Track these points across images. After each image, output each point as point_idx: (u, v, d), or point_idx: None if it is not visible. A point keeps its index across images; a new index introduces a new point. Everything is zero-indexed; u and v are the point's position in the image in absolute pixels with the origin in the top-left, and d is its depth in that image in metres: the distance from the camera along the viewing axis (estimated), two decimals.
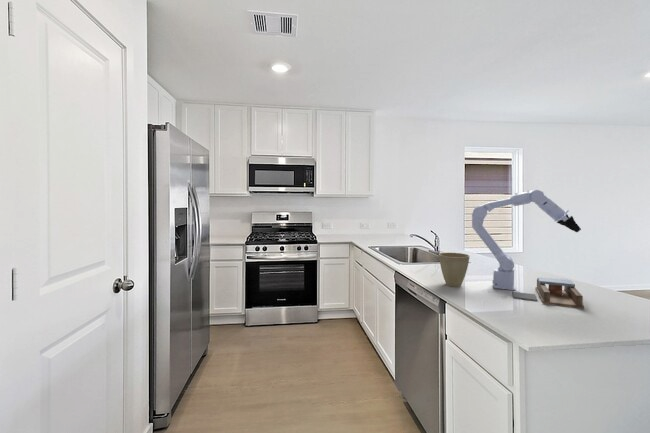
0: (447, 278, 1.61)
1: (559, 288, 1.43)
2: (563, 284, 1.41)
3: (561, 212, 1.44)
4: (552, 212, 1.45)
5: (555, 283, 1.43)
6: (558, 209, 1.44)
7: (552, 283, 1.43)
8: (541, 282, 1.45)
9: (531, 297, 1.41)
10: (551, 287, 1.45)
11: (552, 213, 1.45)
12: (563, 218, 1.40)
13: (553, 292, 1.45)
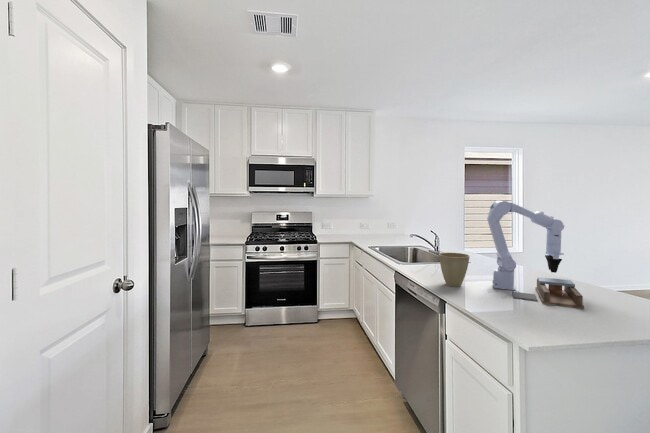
0: (447, 278, 1.61)
1: (559, 288, 1.43)
2: (563, 284, 1.41)
3: (557, 251, 1.49)
4: (551, 246, 1.50)
5: (555, 283, 1.43)
6: (558, 247, 1.49)
7: (552, 283, 1.43)
8: (541, 282, 1.45)
9: (531, 297, 1.41)
10: (551, 287, 1.45)
11: (551, 246, 1.50)
12: (555, 256, 1.46)
13: (553, 292, 1.45)
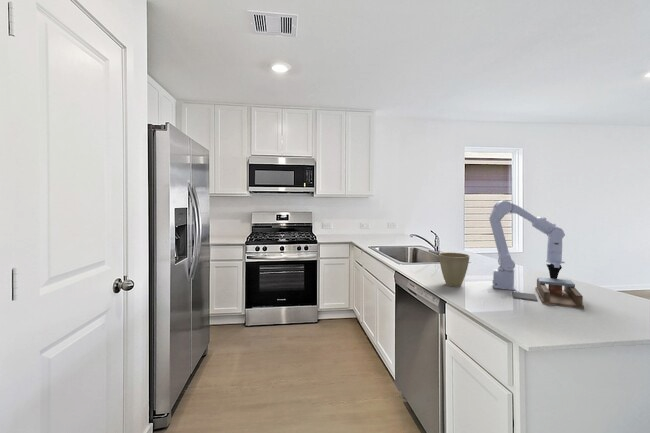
0: (447, 278, 1.61)
1: (559, 288, 1.43)
2: (563, 284, 1.41)
3: (558, 259, 1.47)
4: (552, 254, 1.47)
5: (555, 283, 1.43)
6: (559, 256, 1.47)
7: (552, 283, 1.43)
8: (541, 282, 1.45)
9: (531, 297, 1.41)
10: (551, 287, 1.45)
11: (551, 255, 1.48)
12: (556, 264, 1.43)
13: (553, 292, 1.45)
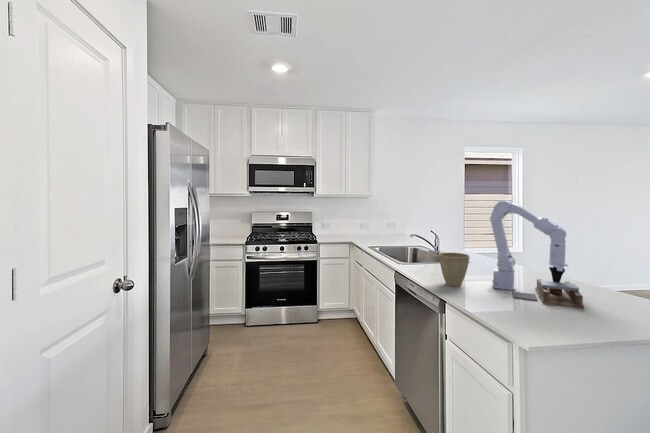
0: (447, 278, 1.61)
1: None
2: (566, 288, 1.35)
3: (561, 262, 1.41)
4: (555, 256, 1.41)
5: (558, 287, 1.36)
6: (562, 258, 1.40)
7: (555, 287, 1.37)
8: (543, 286, 1.39)
9: (531, 297, 1.41)
10: None
11: (554, 257, 1.42)
12: (559, 268, 1.37)
13: (553, 292, 1.45)
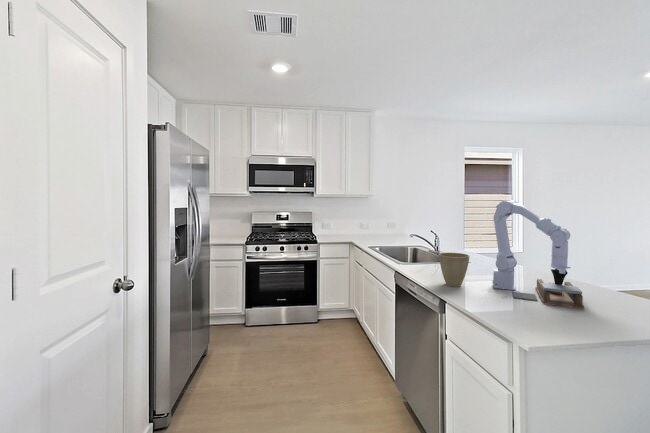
0: (447, 278, 1.61)
1: None
2: (569, 291, 1.31)
3: (564, 264, 1.36)
4: (557, 258, 1.37)
5: (560, 290, 1.32)
6: (564, 260, 1.36)
7: (557, 290, 1.33)
8: (545, 289, 1.35)
9: (531, 297, 1.41)
10: None
11: (556, 259, 1.37)
12: (561, 270, 1.33)
13: (553, 292, 1.45)
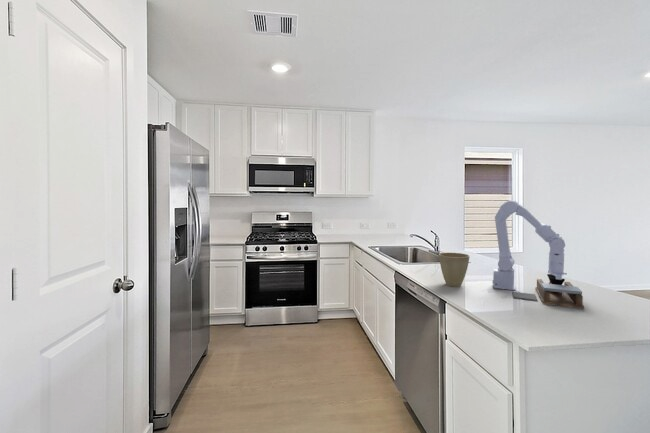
0: (447, 278, 1.61)
1: None
2: (569, 291, 1.31)
3: (560, 271, 1.43)
4: (554, 265, 1.43)
5: (560, 290, 1.32)
6: (561, 267, 1.42)
7: (557, 290, 1.33)
8: (545, 289, 1.34)
9: (531, 297, 1.41)
10: None
11: (553, 266, 1.44)
12: (557, 276, 1.39)
13: (553, 292, 1.45)
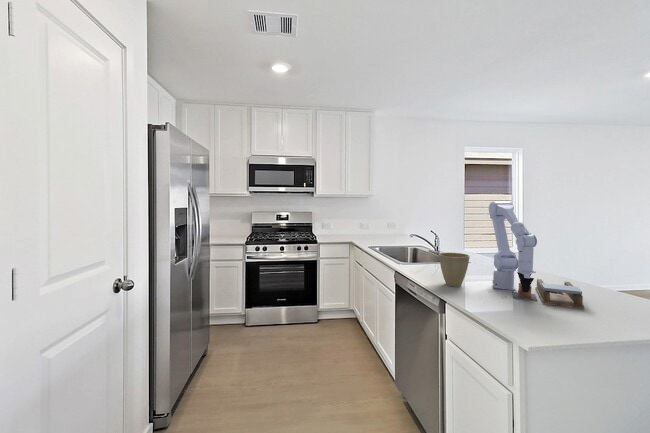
0: (447, 278, 1.61)
1: None
2: (569, 291, 1.31)
3: (529, 269, 1.40)
4: (523, 263, 1.40)
5: (560, 290, 1.32)
6: (530, 265, 1.40)
7: (557, 290, 1.33)
8: (545, 289, 1.34)
9: (531, 297, 1.41)
10: (520, 288, 1.42)
11: (522, 264, 1.41)
12: (526, 275, 1.36)
13: (522, 292, 1.42)
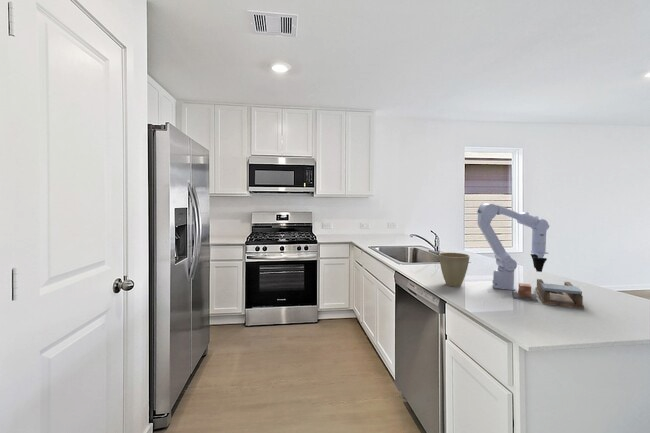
0: (447, 278, 1.61)
1: (528, 289, 1.41)
2: (569, 291, 1.31)
3: (542, 250, 1.52)
4: (537, 245, 1.53)
5: (560, 290, 1.32)
6: (543, 246, 1.52)
7: (557, 290, 1.33)
8: (545, 289, 1.34)
9: (531, 297, 1.41)
10: (520, 288, 1.42)
11: (536, 245, 1.53)
12: (539, 255, 1.49)
13: (522, 292, 1.42)
